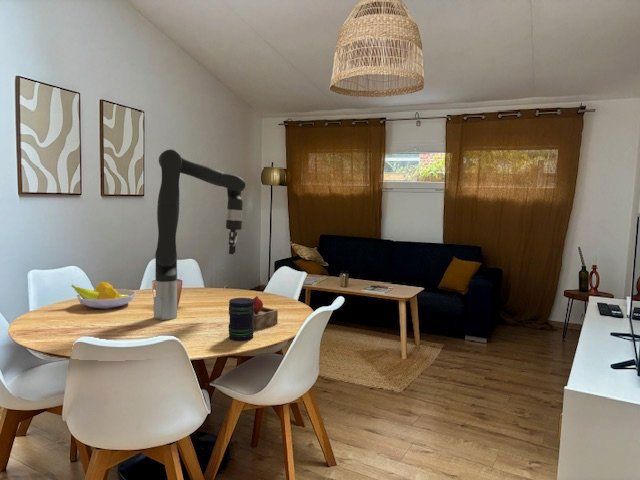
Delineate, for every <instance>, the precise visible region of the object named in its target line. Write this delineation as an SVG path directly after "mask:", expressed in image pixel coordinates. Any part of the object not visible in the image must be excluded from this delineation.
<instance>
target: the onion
mask: <svg viewBox="0 0 640 480" xmlns="http://www.w3.org/2000/svg"><path fill="white" fill-rule="evenodd" d="M252 299H253V300H254V313H255V314H257V313H258V312H260V311H261V310H262V308H263V307H264V303H263V301H262V300H261V299H260V298H259V296H258V295H256V296H255V297H254V298H252Z"/></svg>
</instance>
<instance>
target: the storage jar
mask: <svg viewBox="0 0 640 480" xmlns="http://www.w3.org/2000/svg"><path fill="white" fill-rule="evenodd" d="M253 299H254V298H249V297H235V298H231V299H229V301H228V315H229V322H228V323H229V324H228V339H229V340H231V341H234V342H247V341H250V340H253V339H254V332H255V329H254V324H253V314H254V300H253Z"/></svg>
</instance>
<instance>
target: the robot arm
mask: <svg viewBox="0 0 640 480" xmlns="http://www.w3.org/2000/svg"><path fill="white" fill-rule="evenodd" d="M158 163H159V166H160V168H161V183H160V188H159V193H158V198H157V209H156V210H157V211H156V215H157V217H156V218H157V230H158V231H157V232H158V235H157V236H158V237H157V243H156V244H157V245H156V250H155V254H154V255H155V271H154V272H155V273H154V274H155V277H154V278H155V296H154V297H153V318H154V319H157V320H160V321H163V320H164V321H165V320H166V321H167V320H173V319H176V318H178V253H177V252H178V251H177V241H176V238H177V228H178V226H179V225H178V224H179V217H180V216H179V215H180V175H181V174H184V175H187V176H191V177H192V178H193V177H194V178H196V179H198V180H201V181H203V182H206V183H209V184H211V185H214V186H217V187H222V188H225V189H226V192H227V205H226V206H227V207H226V208H227V210H226V213H225V215H226V216H225V218H226V219H225V230H230V231H229V233H228V246H229V248H228V255H234V254H235V253H236V245H237V242H238V235H239V234H238V231H241V230H242V229H243V206H244V205H243V202H244V201H243V198H242V191H244V190H245V189H246V185H247V184H246V181H245V179H243V178H242V177H240V176H238V175H235V174H231V173H227V172H223V171H222V170H219V169H216V168H213V167H210V166H208V165H203V164H200V163H196V162H192V161H191V160H188V159H186V158H184V157H182V156H181V154H180V152H179V151H177V150H176V149H167V150H164V151H162V152H161V153H160V155H159V157H158Z"/></svg>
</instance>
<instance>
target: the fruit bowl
mask: <svg viewBox="0 0 640 480" xmlns="http://www.w3.org/2000/svg"><path fill="white" fill-rule="evenodd" d="M71 287H72V288H73V289H74V291H75V292H76V293H77V295H76V297H77V299H78V301H79V303H80V304H82V305H85V306H87V307H89V308H93V309H103V310H110V309H113V308H119V307H123V306H125V305H126V304H128V303H130V302H133V300H134V298H135V296H136V295H137V292H136V291H134V290H133V289H125V288H124V289H123V288H114V286H113V285H112V284H110V283H109V282H107V281H101V282H99V283H98V284H97V285H96V286H95V288H94V290H91V289H87V288H84V287H79V286H75V285H74V284H71Z"/></svg>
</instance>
